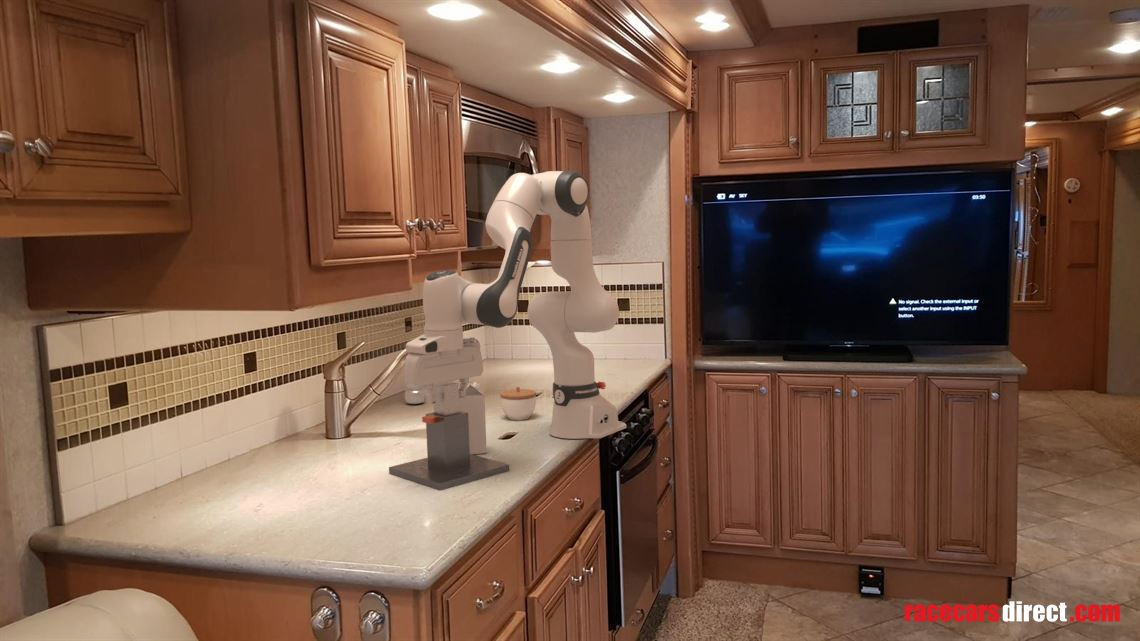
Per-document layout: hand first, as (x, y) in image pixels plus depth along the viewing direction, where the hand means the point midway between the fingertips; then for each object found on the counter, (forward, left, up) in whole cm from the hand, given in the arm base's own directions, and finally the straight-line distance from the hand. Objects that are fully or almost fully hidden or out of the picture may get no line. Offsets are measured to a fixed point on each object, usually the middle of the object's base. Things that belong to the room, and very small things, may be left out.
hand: (446, 400), depth 203 cm
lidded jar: (-49, -31, -17) cm, 60 cm away
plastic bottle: (-41, -73, -17) cm, 86 cm away
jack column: (0, 0, -14) cm, 14 cm away
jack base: (0, 0, -17) cm, 17 cm away
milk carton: (-15, -11, -17) cm, 25 cm away
